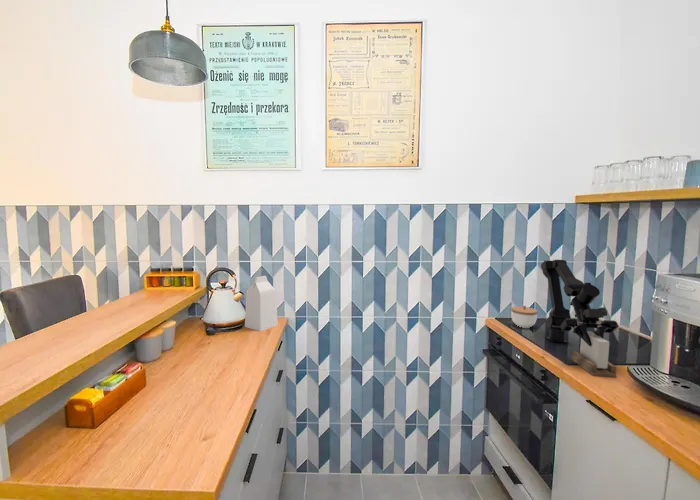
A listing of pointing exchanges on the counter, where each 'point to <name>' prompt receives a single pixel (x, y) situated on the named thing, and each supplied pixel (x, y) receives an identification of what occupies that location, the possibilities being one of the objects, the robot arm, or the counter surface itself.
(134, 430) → the counter surface
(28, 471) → the counter surface
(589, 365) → the flanged channel block
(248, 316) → the milk
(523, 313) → the lidded bowl
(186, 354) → the counter surface
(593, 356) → the clay slab
